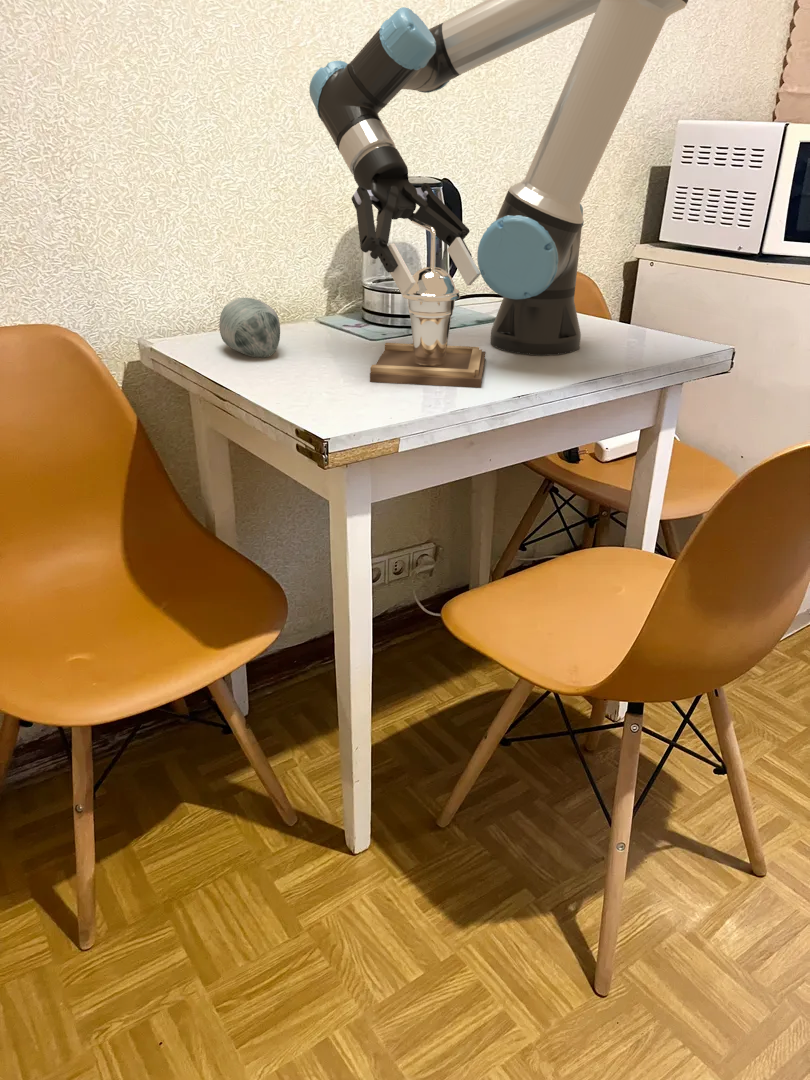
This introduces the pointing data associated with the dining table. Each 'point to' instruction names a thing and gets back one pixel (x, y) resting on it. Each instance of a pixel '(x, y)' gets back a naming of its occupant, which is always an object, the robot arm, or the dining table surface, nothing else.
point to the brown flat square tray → (429, 367)
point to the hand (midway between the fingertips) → (442, 284)
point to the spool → (250, 327)
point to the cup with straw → (431, 309)
